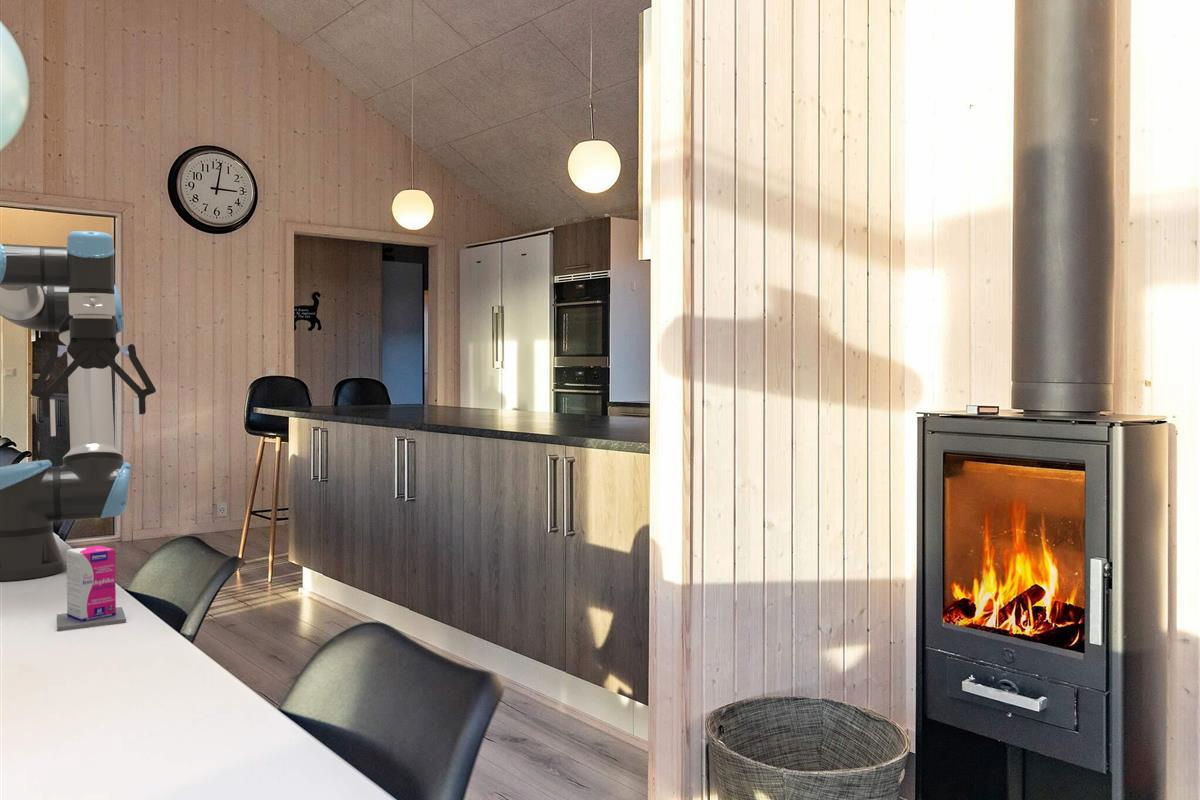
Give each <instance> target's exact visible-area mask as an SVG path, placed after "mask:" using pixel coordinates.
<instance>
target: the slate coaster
mask: <svg viewBox="0 0 1200 800" xmlns="http://www.w3.org/2000/svg"><path fill="white" fill-rule="evenodd" d="M125 623H127V618H126V615H125V612H124V608H123V606H118V607H117V606H116V615H115V616H108V617H103V618H97V619H92V620H87V621H83V622H80V621H77V620H75V619H72V618H69V617H67V612H66V613H58V614H56V624H57V625H56V626H57V628H56V629H57V630H56V631H57V632H61V631H69V630H76V629H78V630H79V629H85V628H94V627H101V626H109V625H117V624H125Z"/></svg>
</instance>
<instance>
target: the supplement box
mask: <svg viewBox="0 0 1200 800" xmlns="http://www.w3.org/2000/svg"><path fill="white" fill-rule="evenodd" d="M116 587H117V586H116V550H115V549H114V548H111V547H106V546H103V545H94V546H86V547H84V546H83V547H80V548H79V547H78V548H70V549H66V607H67V608H66V610H67V611H66V613H67V617H69V618H72V619H75V620H77V621H80V622H83V621H87V620H92V619H97V618H103V617H108V616H115V615H116V607H117V604H116V603H117V602H116V600H117V598H116V593H117V592H116V591H117V589H116Z"/></svg>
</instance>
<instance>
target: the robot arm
mask: <svg viewBox="0 0 1200 800" xmlns="http://www.w3.org/2000/svg"><path fill="white" fill-rule="evenodd" d="M66 243H67V244H66V246H51V245H50V246H48V245H26V244H9V243H8V244H6V243H0V316H1V317H2V318H3V319H5V320H6V321H8V322H10V323H12V324H14V325H16V326H20V327H22V328H25V329H29V330H32V331H38V332H58V339H59V341H60V342H61V343H63V344H64V345H59V344H57V343H54V344H53V343H52V344H50V348H49V349H50V350H49V356H48V358H47V361H46V362H45V365H44V366H43V368H42V370H41V371H40V373H39V375H38V377H37V379H36V381H35V383H34V385H33V387H32V388H31V390H30V395H31V396H32V397H36V398H40V400H41V401H42V416H43V418H49V420H50V437H56V435H57V432H56V431H57V429H56V427H57V426H56V401H55V398H51V397H52V396H53V395H54V393H55V392H56V391H58V389H59V388H60V387H61V386H62V385H63V384H64V383H65V382H66V381H67V382H68V383H67V385H68V389H67V390H68V410H69V412H68V413H69V414H68V415H69V444H70V445H69V446H70V447H69V448H70V449H69V451H68V452H67V453H66V454H65V455H64V456H63V457H62V465H59V466H53V463H52V461H51V460H50V459H41V460H33V461H25V462H20V463H14V464H8V465H5V466H0V582H5V581H6V582H7V581H21V580H29V579H36V578H42V577H48V576H51V575H56V574H58V573H61V572H63V571H64V570H65V569H64V568H65V565H64V558H63V555H62V553H61V550H60V547H59V545H58V543H57V541H56V538H55V535H54V522H61V521H76V520H89V519H90V520H91V519H101V520H102V519H104V518H105V519H106V518H112V517H119V516H121V515H123V514H124V512H125V511H126V508H127V503H128V497H129V491H130V490H129V488H130V479H131V466H132V465H131V463H130V462H127V461H124V459H123V457H124V456H123V453H122V452H120V451H119V450H118V449H117V448H116V447H115V446H116V445H115V425H114V423H115V422H114V401H113V399H114V398H113V379H112V370H113V371H114V372H115V374H117V376H118V377H119V378H120V379H121V380H123V382H124V383H126V385H127V386H128V387H129V388H130V389H131V390H132V391H134V393H135V394H136V395H137V396H133V398H132V399H133V403H132V404H133V432H134V433H135V434H138V433H139V434H140V429H141V428H140V415H145V414H146V412H147V411H146V410H147V409H146V407H147V406H146V398H147V397H148V396H150V395H152V394H155V393H156V392H157V389H156V387H155V386H154V384H153V382H152V380H151V379H150V377H149V375H148V373H147V371H146V370H145V368H144V367H143V364H142V363H141V361H140V359H139V358H138V356H137V349H136V346H135V344H131V343H129V344H125V345H118V343H117V340H118V333H121V332H123V331H124V329H125V323H124V321H125V320H124V315H123V306H122V301H121V297H120V293H119V290H118V287H117V286H116V284H115V250H116V249H115V247H114V239H113V236H112V235H111V234H110V233H107V232H102V231H93V230H91V231H89V230H74V231H71V232H69V233H68V234H67V236H66ZM120 352H121V353H123V356H125V357H128V358H129V361H130V363H131V364H132V366H133V368H134V369H135V371H136V374H138V376H139V378H140V379H141V381H142V384H143V385H144V387H145V388H141V386H139V384H137V382H136V381H135V380H133V378H132V377H131V376H129V374H128V373H126V371H125V370H124V369H123V368H122V367H121V366H120V365H119V364H118V363H117V362H116V361H115V358H116V357H117V355H118V354H119V353H120ZM64 353H66V355H67V359H66V360H67V367H66V368H65V369H64V370H63V372H61V374H60V375H59V376H58V377H57V378H56V379H55V380H54V381H53V382H52V383H51V384H50V385H49V386H48V388H46V390H45V391H44V390H41V389H42V387H43V386H44V384H45V382H46V380H47V378H48V376H49V374H50V373H51V370H52V369H53V368H54V365H55V363H56V361H57V358H61V357H63V354H64Z"/></svg>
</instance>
